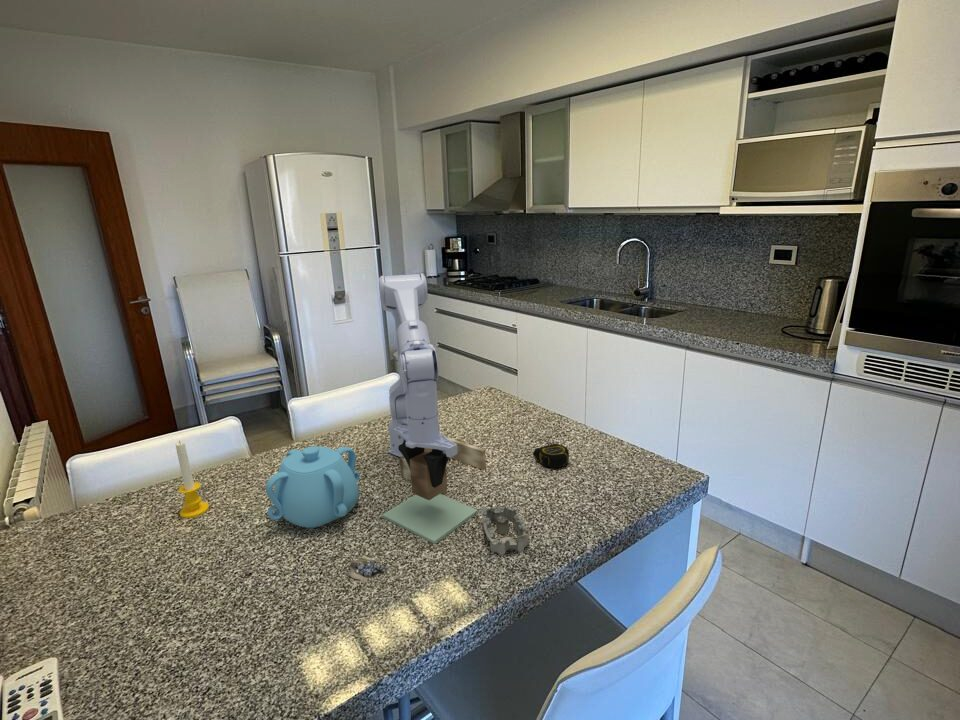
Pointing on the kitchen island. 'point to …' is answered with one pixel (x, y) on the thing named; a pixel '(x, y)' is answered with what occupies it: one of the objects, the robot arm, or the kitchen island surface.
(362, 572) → the blueberries
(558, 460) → the tape measure
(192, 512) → the candle
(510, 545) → the egg carton
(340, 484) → the decorative pot
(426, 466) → the walnut block
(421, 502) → the sage mat
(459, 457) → the open-side box
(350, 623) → the kitchen island surface
